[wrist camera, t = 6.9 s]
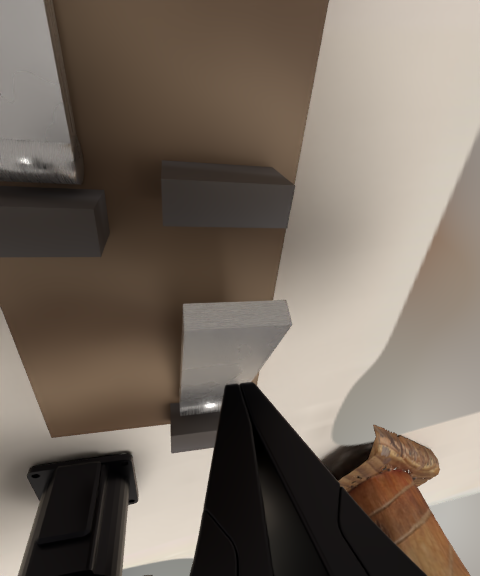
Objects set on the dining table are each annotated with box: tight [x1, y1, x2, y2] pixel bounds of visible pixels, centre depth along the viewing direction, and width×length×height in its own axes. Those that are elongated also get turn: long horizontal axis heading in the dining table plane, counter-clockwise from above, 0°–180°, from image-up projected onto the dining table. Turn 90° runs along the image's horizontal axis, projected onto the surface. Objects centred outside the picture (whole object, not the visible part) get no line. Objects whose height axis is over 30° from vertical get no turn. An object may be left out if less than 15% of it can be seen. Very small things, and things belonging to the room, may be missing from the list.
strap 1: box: [179, 300, 292, 416], centre depth 13 cm, size 11×3×1 cm, turn 174°
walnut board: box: [0, 0, 329, 453], centre depth 11 cm, size 27×12×4 cm, turn 174°
